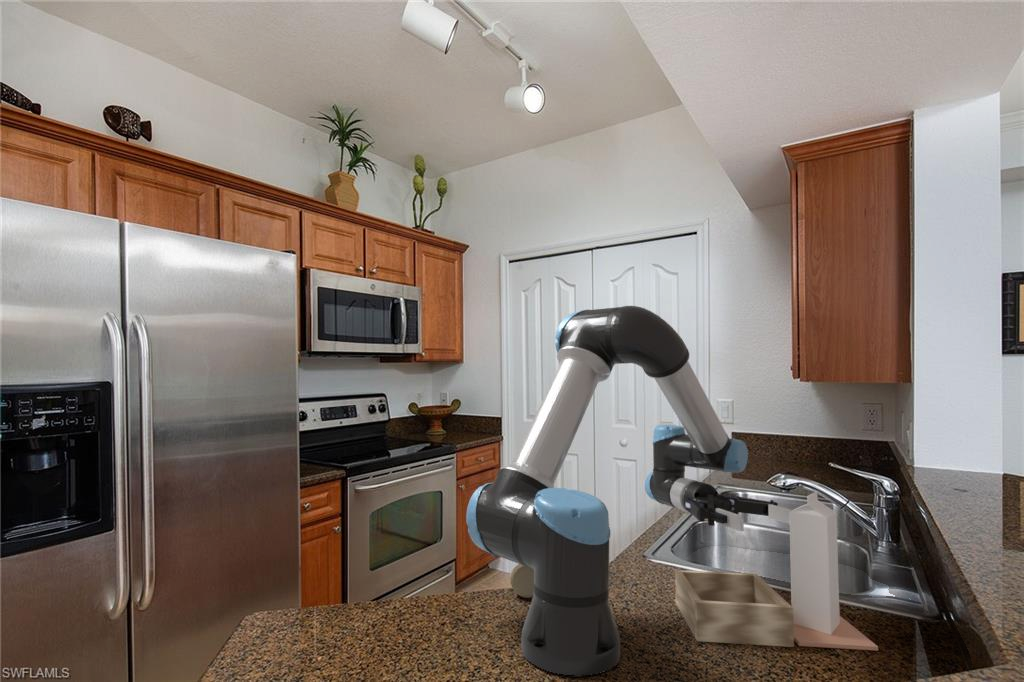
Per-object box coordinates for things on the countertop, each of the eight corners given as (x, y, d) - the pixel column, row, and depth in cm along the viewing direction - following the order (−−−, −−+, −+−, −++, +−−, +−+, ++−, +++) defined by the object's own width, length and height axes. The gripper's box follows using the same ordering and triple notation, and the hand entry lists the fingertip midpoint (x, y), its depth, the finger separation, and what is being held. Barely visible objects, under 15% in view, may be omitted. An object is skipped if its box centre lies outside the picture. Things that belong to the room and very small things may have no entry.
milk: (791, 624, 89) (787, 493, 91) (802, 613, 94) (797, 488, 96) (832, 636, 85) (826, 498, 87) (841, 624, 89) (835, 493, 91)
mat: (799, 645, 83) (798, 641, 83) (763, 608, 97) (763, 605, 97) (878, 650, 82) (878, 646, 82) (831, 612, 96) (831, 608, 96)
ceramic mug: (508, 599, 98) (509, 557, 99) (511, 583, 107) (512, 544, 107) (564, 603, 98) (565, 561, 98) (563, 586, 106) (564, 547, 106)
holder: (697, 641, 84) (696, 602, 84) (675, 602, 99) (675, 569, 99) (794, 647, 82) (793, 607, 83) (757, 607, 97) (756, 573, 98)
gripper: (738, 510, 123) (818, 536, 103) (649, 518, 115) (717, 547, 95) (737, 478, 124) (817, 497, 104) (649, 483, 115) (717, 505, 96)
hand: (770, 521), depth 99 cm, fingers open, 13 cm apart
